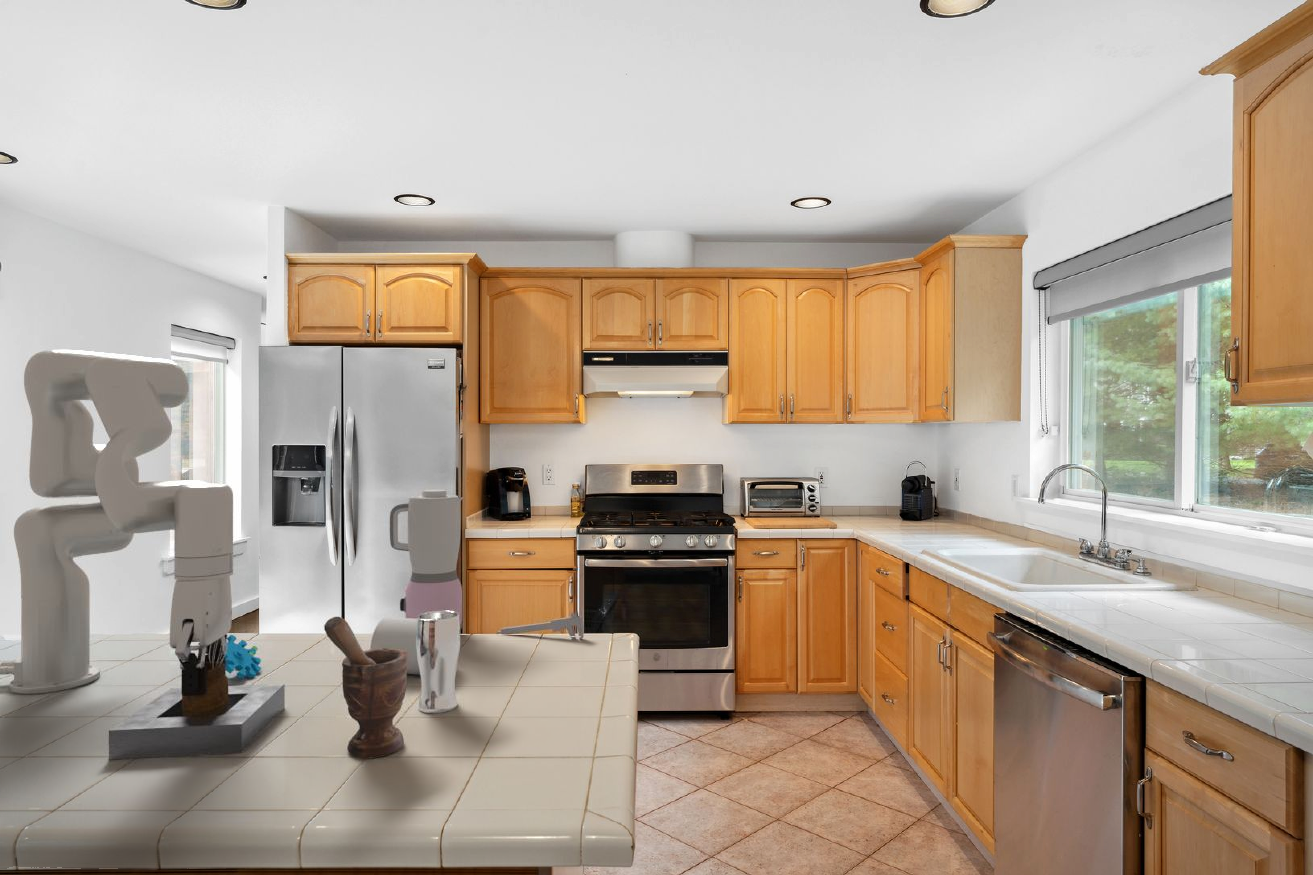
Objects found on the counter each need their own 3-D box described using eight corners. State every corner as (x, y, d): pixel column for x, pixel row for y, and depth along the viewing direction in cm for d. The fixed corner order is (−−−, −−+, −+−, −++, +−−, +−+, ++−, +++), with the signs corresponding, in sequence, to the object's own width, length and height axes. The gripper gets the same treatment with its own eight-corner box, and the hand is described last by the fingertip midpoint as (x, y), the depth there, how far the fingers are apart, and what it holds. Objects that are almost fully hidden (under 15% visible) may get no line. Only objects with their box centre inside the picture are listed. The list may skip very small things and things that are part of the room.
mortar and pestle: (372, 774, 98) (373, 622, 98) (314, 768, 99) (314, 618, 99) (418, 739, 109) (418, 602, 109) (364, 734, 111) (365, 599, 111)
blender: (464, 625, 174) (464, 488, 174) (461, 639, 162) (462, 492, 162) (393, 628, 171) (393, 489, 171) (385, 643, 159) (385, 493, 159)
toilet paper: (370, 680, 135) (370, 625, 135) (395, 663, 145) (395, 612, 145) (423, 682, 134) (423, 626, 134) (445, 665, 144) (445, 613, 144)
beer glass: (468, 703, 124) (469, 612, 124) (440, 717, 117) (440, 622, 117) (436, 696, 127) (436, 608, 127) (406, 710, 120) (406, 617, 120)
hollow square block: (108, 759, 102) (108, 730, 102) (171, 713, 119) (171, 688, 119) (241, 752, 104) (241, 723, 104) (284, 708, 121) (284, 683, 121)
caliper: (583, 640, 163) (583, 611, 163) (581, 641, 162) (582, 612, 162) (497, 633, 168) (497, 605, 168) (495, 635, 167) (495, 607, 167)
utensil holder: (236, 710, 113) (236, 631, 112) (192, 724, 107) (192, 640, 107) (215, 703, 116) (215, 625, 116) (171, 715, 110) (171, 634, 110)
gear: (239, 677, 131) (205, 635, 133) (214, 701, 131) (181, 658, 133) (276, 666, 142) (245, 627, 144) (254, 688, 142) (223, 649, 144)
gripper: (203, 557, 119) (203, 670, 119) (146, 577, 102) (146, 709, 102) (253, 556, 120) (253, 668, 120) (205, 576, 103) (205, 707, 103)
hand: (204, 686), depth 111 cm, fingers closed on utensil holder, 5 cm apart
